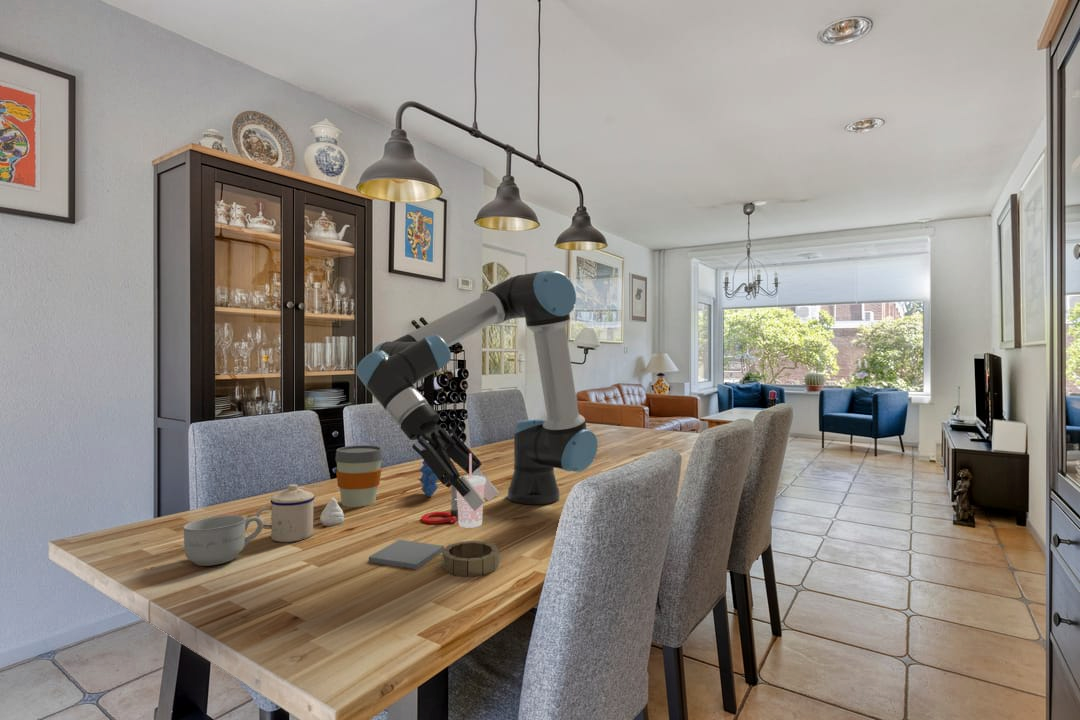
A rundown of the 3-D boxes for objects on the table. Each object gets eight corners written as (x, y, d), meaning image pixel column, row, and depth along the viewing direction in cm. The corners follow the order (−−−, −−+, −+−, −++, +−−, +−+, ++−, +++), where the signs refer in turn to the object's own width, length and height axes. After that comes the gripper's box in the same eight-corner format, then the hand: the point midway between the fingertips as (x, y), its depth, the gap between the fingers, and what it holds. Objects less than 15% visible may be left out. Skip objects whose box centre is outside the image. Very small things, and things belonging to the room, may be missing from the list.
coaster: (399, 544, 121) (399, 539, 120) (444, 550, 117) (444, 545, 117) (368, 561, 110) (368, 556, 110) (416, 569, 107) (416, 564, 107)
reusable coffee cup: (363, 494, 162) (364, 443, 162) (391, 501, 155) (392, 448, 154) (325, 503, 152) (325, 449, 152) (353, 511, 144) (353, 454, 144)
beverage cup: (448, 526, 107) (448, 454, 107) (465, 517, 113) (465, 449, 113) (475, 530, 105) (476, 457, 105) (491, 521, 110) (491, 452, 110)
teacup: (179, 575, 102) (180, 532, 102) (186, 555, 112) (186, 516, 112) (263, 563, 109) (263, 522, 109) (262, 545, 118) (263, 508, 118)
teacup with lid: (312, 528, 131) (313, 479, 131) (315, 539, 122) (316, 487, 122) (256, 534, 125) (256, 483, 125) (254, 547, 117) (255, 492, 117)
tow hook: (417, 525, 135) (454, 525, 135) (415, 473, 135) (452, 472, 135) (426, 516, 144) (461, 515, 143) (424, 466, 144) (459, 465, 143)
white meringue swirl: (347, 499, 135) (325, 502, 131) (347, 523, 135) (324, 527, 131) (339, 494, 139) (317, 497, 135) (338, 518, 139) (316, 522, 135)
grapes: (449, 499, 158) (450, 457, 158) (426, 502, 155) (427, 459, 155) (437, 490, 168) (437, 451, 168) (415, 492, 165) (415, 452, 165)
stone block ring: (473, 551, 117) (474, 537, 117) (509, 565, 109) (509, 550, 109) (431, 565, 109) (431, 550, 109) (466, 581, 101) (466, 565, 101)
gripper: (426, 421, 122) (493, 500, 118) (374, 433, 104) (452, 528, 99) (447, 398, 121) (517, 478, 116) (399, 406, 102) (479, 502, 98)
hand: (487, 501), depth 108 cm, fingers closed on beverage cup, 6 cm apart
